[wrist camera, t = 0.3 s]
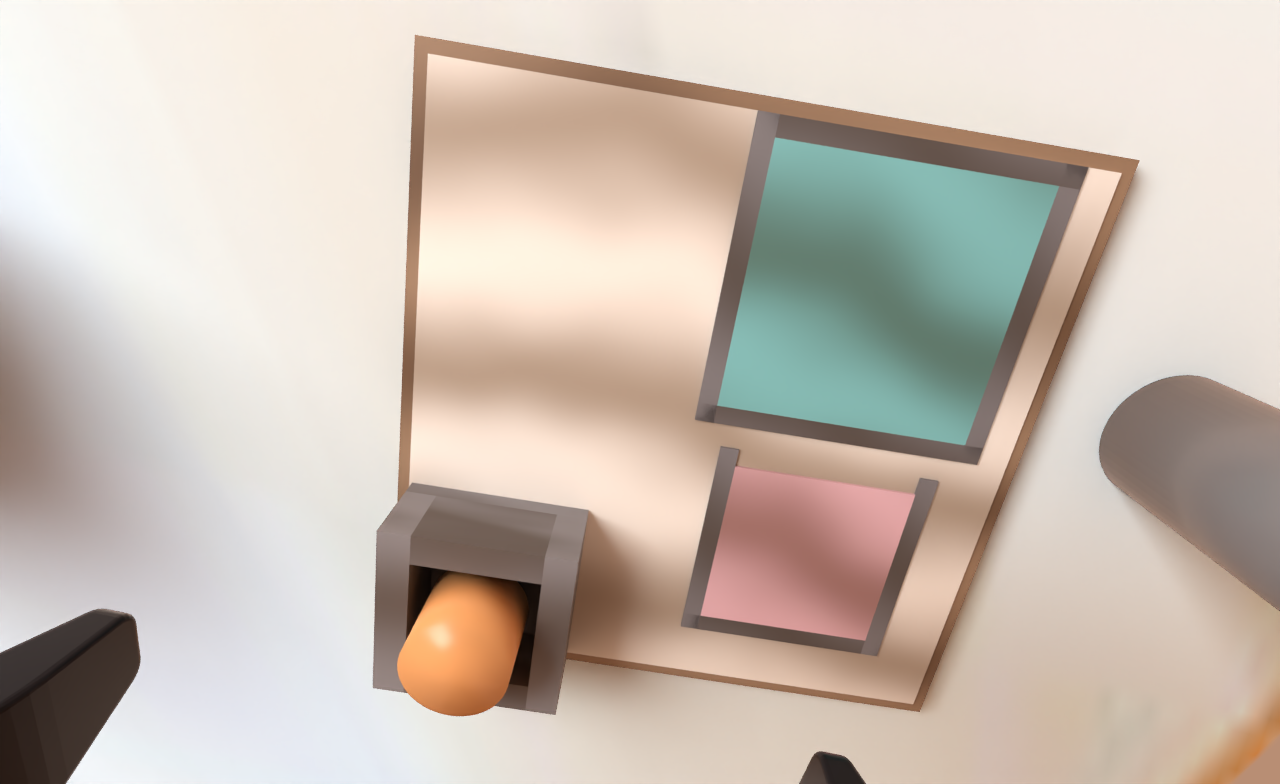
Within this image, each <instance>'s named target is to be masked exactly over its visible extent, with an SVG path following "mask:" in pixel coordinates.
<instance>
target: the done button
mask: <svg viewBox="0 0 1280 784" xmlns="http://www.w3.org/2000/svg"><path fill="white" fill-rule="evenodd" d="M528 612H529V605H528V600H527V596H526V594H525V592H524V590H523V588H522V587H521V585H520V584H519V583H518V582H517V581H515V580H508V579H502V578H495V577H488V576H482V575H475V574H469V573H462V572H456V571H449V570H448V571H447V572H445V573H444V574H443V575H442V576H441V577H440V578H439V579H438V580H437V582H436V583H435V585H434V587H433V589H432V591H431V593H430V595H429V597H428V599H427V601H426V603H425V605H424V607H423V609H422V611H421V612H420V614H419V616H418V618H417V620H416V622H415V624H414V626H413V628H412V630H411V632H410V634H409V636H408V638H407V640H406V642H405V644H404V646H403V648H402V650H401V652H400V654H399V657H398V662H397V671H398V676H399V679H400V681H401V683H402V685H403V687H404V689H405V690H406V691H407V693H408V694H409V695H410V696H411V697H412V698H413V699H414V700H416V701H417V702H418V703H420V704H421V705H422V706H424V707H426V708H428V709H430V710H432V711H435V712H438V713H441V714H445V715H451V716H469V715H475V714H479V713H482V712H484V711H486V710H488V709H490V708H492V707H493V706H495V705H496V704H497V703H498V702H499V701H500V700H501V699H502V697H503V696H504V694H505V693H506V690H507V688H508V684H509V681H510V677H511V674H512V670H513V667H514V663H515V660H516V656H517V653H518V649H519V646H520V642H521V638H522V635H523V631H524V628H525V624H526V621H527V617H528Z"/></svg>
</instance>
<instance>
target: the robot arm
mask: <svg viewBox="0 0 1280 784" xmlns="http://www.w3.org/2000/svg"><path fill="white" fill-rule="evenodd" d="M139 666H140V650H139V642H138V634H137V626H136V621H135V619H134V617H133V616H132V615H131V614H128V613H124V612H119V611H114V610H109V609H96V610H93V611H90V612H87V613H85V614H83V615H81V616H79V617H77V618H74V619H72V620H70V621H68V622H66V623H64V624H61V625H59V626H57V627H55V628H53V629H51V630H49V631H46V632H44V633H42V634H40V635H38V636H36V637H33V638H31V639H29V640H27V641H25V642H23V643H20V644H18V645H16V646H14V647H12V648H10V649H8V650H5V651H3V652H1V653H0V784H66V783H67V781H68V780H69V778H70V777H71V775H72V774H73V772H74V771H75V769H76V767H77V766H78V764H79V763H80V761H81V760H82V758H83V757H84V755H85V754H86V752H87V751H88V749H89V748H90V746H91V745H92V743H93V741H94V740H95V738H96V737H97V735H98V734H99V732H100V731H101V729H102V728H103V726H104V725H105V723H106V722H107V720H108V719H109V717H110V715H111V714H112V712H113V711H114V709H115V708H116V706H117V705H118V703H119V702H120V700H121V699H122V697H123V696H124V694H125V693H126V691H127V689H128V688H129V686H130V685H131V683H132V682H133V680H134V678H135V677H136V674H137V672H138V669H139ZM799 784H866V783H865V782H864V780H863V779H862V777H861V776H860V774H859V773H858V771H857V770H856V768H855V767H854V766H853V764H852V763H851V762H850V761H849V760H848V759H847V758H846V757H844V756H841V755H837V754H832V753H827V752H817V753H815V754H814V755H813V757H812V759H811V761H810V763H809V765H808V767H807V769H806V771H805V773H804V775H803V777H802V779H801V781H800V783H799Z"/></svg>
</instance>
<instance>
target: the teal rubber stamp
mask: <svg viewBox="0 0 1280 784" xmlns="http://www.w3.org/2000/svg"><path fill="white" fill-rule="evenodd" d="M1099 456H1100V462H1101V466H1102V468H1103V471H1104V473H1105V474H1106V476H1107V477H1108V479H1109V480H1110V481H1111V482H1112V483H1113V484H1114V485H1115V486H1117V487H1118V488H1119V489H1121V490H1122V491H1123V492H1125V493H1126V494H1127V495H1129V496H1130V497H1131V498H1132V499H1134V500H1135V501H1136V502H1138V503H1139V504H1140V505H1142V506H1143V507H1144V508H1146V509H1147V510H1148V511H1149V512H1151V513H1152V514H1153V515H1155V516H1156V517H1157V518H1159V519H1160V520H1161V521H1162V522H1164V523H1165V524H1166V525H1168V526H1169V527H1170V528H1172V529H1173V530H1174V531H1176V532H1177V533H1178V534H1179V535H1181V536H1182V537H1183V538H1185V539H1186V540H1187V541H1189V542H1190V543H1191V544H1193V545H1194V546H1195V547H1196V548H1198V549H1199V550H1200V551H1202V552H1203V553H1204V554H1206V555H1207V556H1208V557H1210V558H1211V559H1212V560H1213V561H1215V562H1216V563H1217V564H1219V565H1220V566H1221V567H1223V568H1224V569H1225V570H1226V571H1228V572H1229V573H1230V574H1232V575H1233V576H1234V577H1236V578H1237V579H1238V580H1240V581H1241V582H1242V583H1243V584H1245V585H1246V586H1247V587H1249V588H1250V589H1251V590H1253V591H1254V592H1255V593H1257V594H1258V595H1259V596H1260V597H1262V598H1263V599H1264V600H1266V601H1267V602H1268V603H1270V604H1271V605H1272V606H1274V607H1275V608H1276V609H1277V610H1279V611H1280V410H1279V409H1277V408H1275V407H1273V406H1270V405H1268V404H1266V403H1263V402H1261V401H1259V400H1257V399H1254V398H1252V397H1250V396H1248V395H1245V394H1243V393H1241V392H1238V391H1236V390H1234V389H1232V388H1229V387H1227V386H1225V385H1222V384H1220V383H1218V382H1216V381H1213V380H1211V379H1208V378H1204V377H1200V376H1192V375H1183V376H1174V377H1169V378H1165V379H1161V380H1158V381H1156V382H1153V383H1151V384H1149V385H1147V386H1145V387H1143V388H1141V389H1139V390H1138V391H1136V392H1135V393H1133V394H1132V395H1131V396H1129V397H1128V398H1127V399H1126V400H1125V401H1124V402H1123V403H1121V404H1120V405H1119V407H1118V408H1117V409H1116V410H1115V411H1114V412H1113V414H1112V415H1111V417H1110V418H1109V420H1108V422H1107V424H1106V426H1105V428H1104V430H1103V433H1102V436H1101V440H1100V446H1099Z"/></svg>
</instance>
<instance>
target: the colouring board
mask: <svg viewBox="0 0 1280 784" xmlns="http://www.w3.org/2000/svg"><path fill="white" fill-rule="evenodd" d="M1139 161H1140V160H1135V159H1129V158H1123V157H1117V156H1111V155H1106V154H1100V153H1094V152H1088V151H1083V150H1077V149H1071V148H1065V147H1059V146H1054V145H1048V144H1042V143H1036V142H1031V141H1025V140H1019V139H1013V138H1007V137H1002V136H996V135H990V134H984V133H979V132H973V131H967V130H961V129H956V128H950V127H944V126H938V125H932V124H927V123H921V122H915V121H909V120H904V119H898V118H892V117H886V116H880V115H875V114H869V113H863V112H857V111H852V110H846V109H840V108H834V107H828V106H823V105H817V104H811V103H805V102H800V101H794V100H788V99H782V98H776V97H771V96H765V95H759V94H753V93H748V92H742V91H736V90H730V89H724V88H719V87H713V86H707V85H701V84H696V83H690V82H684V81H678V80H673V79H667V78H661V77H655V76H649V75H644V74H638V73H632V72H626V71H621V70H615V69H609V68H603V67H597V66H592V65H586V64H580V63H574V62H569V61H563V60H557V59H551V58H545V57H540V56H534V55H528V54H522V53H517V52H511V51H505V50H499V49H493V48H488V47H482V46H476V45H470V44H465V43H459V42H453V41H447V40H442V39H436V38H430V37H424V36H418V35H415V46H414V73H413V100H412V127H411V154H410V181H409V208H408V235H407V262H406V288H405V315H404V342H403V369H402V396H401V423H400V450H399V477H398V503H397V504H396V505H395V507H394V508H393V509H392V511H391V512H390V514H389V515H388V516H387V518H386V519H385V520H384V522H383V523H382V524H381V526H380V527H379V529H378V530H377V543H376V583H375V622H374V662H373V688H377V689H384V690H391V691H397V692H404V693H407V691H406V690H405V689H404V687H403V685H402V683H401V681H400V679H399V676H398V671H397V662H398V657H399V654H400V652H401V650H402V648H403V646H404V644H405V642H406V640H407V638H408V636H409V634H410V632H411V630H412V628H413V626H414V624H415V622H416V620H417V618H418V616H419V614H420V612H421V611H422V609H423V607H424V605H425V603H426V601H427V599H428V597H429V595H430V593H431V591H432V589H433V587H434V585H435V583H436V582H437V580H438V579H439V578H440V577H441V576H442V575H443V574H444V573H445V572H447V571H448V570H449V571H456V572H462V573H469V574H475V575H482V576H488V577H495V578H502V579H508V580H515V581H517V582H518V583H519V584H520V585H521V587H522V588H523V590H524V592H525V594H526V596H527V600H528V605H529V612H528V617H527V621H526V624H525V628H524V631H523V635H522V638H521V642H520V646H519V649H518V653H517V656H516V660H515V663H514V667H513V670H512V674H511V677H510V681H509V684H508V688H507V690H506V693H505V694H504V696H503V697H502V699H501V700H500V701H499V702H498V703H497V704H496V705H495V706H499V707H505V708H512V709H519V710H526V711H533V712H539V713H546V714H553V715H556V709H557V704H558V699H559V693H560V688H561V682H562V677H563V672H564V666H565V661H566V659H571V660H577V661H584V662H591V663H597V664H604V665H611V666H617V667H624V668H631V669H637V670H644V671H651V672H657V673H664V674H671V675H677V676H684V677H691V678H697V679H704V680H711V681H717V682H724V683H731V684H737V685H744V686H750V687H757V688H764V689H770V690H777V691H784V692H790V693H797V694H804V695H810V696H817V697H824V698H830V699H837V700H844V701H850V702H857V703H864V704H870V705H877V706H884V707H890V708H897V709H904V710H910V711H917V712H920V709H921V707H922V704H923V702H924V699H925V697H926V694H927V692H928V689H929V687H930V684H931V682H932V679H933V677H934V674H935V672H936V669H937V667H938V664H939V662H940V659H941V657H942V654H943V652H944V649H945V647H946V644H947V642H948V639H949V637H950V634H951V632H952V629H953V627H954V624H955V622H956V619H957V617H958V614H959V612H960V609H961V607H962V604H963V602H964V599H965V597H966V594H967V592H968V589H969V587H970V584H971V582H972V579H973V577H974V574H975V572H976V569H977V567H978V564H979V561H980V559H981V556H982V554H983V551H984V549H985V546H986V544H987V541H988V539H989V536H990V534H991V531H992V529H993V526H994V524H995V521H996V519H997V516H998V514H999V511H1000V509H1001V506H1002V504H1003V501H1004V499H1005V496H1006V494H1007V491H1008V489H1009V486H1010V484H1011V481H1012V479H1013V476H1014V474H1015V471H1016V469H1017V466H1018V464H1019V461H1020V459H1021V456H1022V454H1023V451H1024V449H1025V446H1026V444H1027V441H1028V439H1029V436H1030V434H1031V431H1032V429H1033V426H1034V424H1035V421H1036V419H1037V416H1038V414H1039V411H1040V409H1041V406H1042V404H1043V401H1044V399H1045V396H1046V394H1047V391H1048V389H1049V386H1050V384H1051V381H1052V379H1053V376H1054V374H1055V371H1056V369H1057V366H1058V364H1059V361H1060V359H1061V356H1062V354H1063V351H1064V349H1065V346H1066V343H1067V341H1068V338H1069V336H1070V333H1071V331H1072V328H1073V326H1074V323H1075V321H1076V318H1077V316H1078V313H1079V311H1080V308H1081V306H1082V303H1083V301H1084V298H1085V296H1086V293H1087V291H1088V288H1089V286H1090V283H1091V281H1092V278H1093V276H1094V273H1095V271H1096V268H1097V266H1098V263H1099V261H1100V258H1101V256H1102V253H1103V251H1104V248H1105V246H1106V243H1107V241H1108V238H1109V236H1110V233H1111V231H1112V228H1113V226H1114V223H1115V221H1116V218H1117V216H1118V213H1119V211H1120V208H1121V206H1122V203H1123V201H1124V198H1125V196H1126V193H1127V191H1128V188H1129V186H1130V183H1131V181H1132V178H1133V176H1134V173H1135V171H1136V168H1137V166H1138V163H1139Z"/></svg>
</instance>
